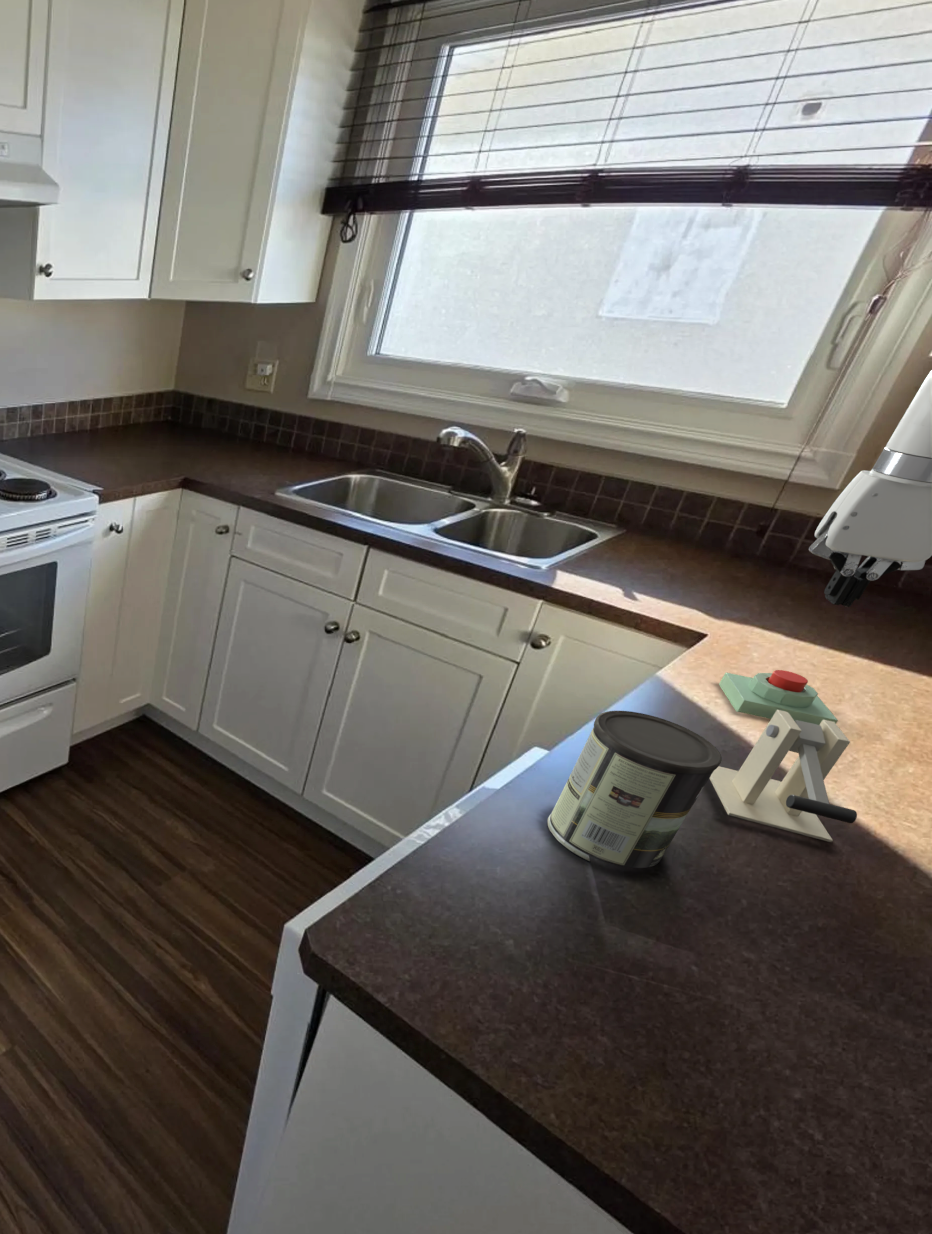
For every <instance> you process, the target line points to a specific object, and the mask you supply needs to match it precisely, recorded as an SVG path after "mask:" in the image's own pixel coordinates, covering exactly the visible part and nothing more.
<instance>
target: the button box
mask: <svg viewBox="0 0 932 1234" xmlns="http://www.w3.org/2000/svg"><path fill="white" fill-rule="evenodd" d="M772 673H773V672H757V673H756V674H755V675H754V676H753V677H750V676H745V675H741V674H736V673H730V672H725V673H724V674H723V676H722V678H721V680H720V681H719V683H718V685H719V687H720V689H721V690H722V692H723V693H724V695H725V696H726V697H727V700H728V702H729V703H730V704H731V706H732V707H733V709H734V710H735V712H736V713H741V714H747V715H750V716H755V717H760V718H764V719H768V720H771V719H772V717H773V715H774V714H775V712H776V711H777V710H781V711H786V712H788V713H789V714H790V716H791V717H792V718H793V720H794V721H795V720H798V721H803V722H807V723H812V724H816V725H820V723H821V722H822V720H827V721H832V722H835V724H836V725H837V723H838V722H839V720H838V718H837V717H836V716H835V714H833V712H832V711H831V710H830V709H829V707H827V705H826V704H825V703H824V702H823V700H822V699H821V698H820V697H819V696H818V695H819V693H818V691H817V690H816V689H815V688H814V687H812V686H811V685H808V683H807V684H806V686H805V687H804V689H803V691H802V692H792V691H787V690H784V689H781V688H778V687H775V686H773V685H772V684H770V683H768V680H769V678H770V677H771V675H772Z"/></svg>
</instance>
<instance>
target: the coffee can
mask: <svg viewBox="0 0 932 1234" xmlns="http://www.w3.org/2000/svg"><path fill="white" fill-rule="evenodd" d="M722 760H723V757H722V754H721V752H720V751H719V749H717V747H716V746H715V745H714V744H712V742H711V741H709V740H707V739H706V738H704V737H703V736H702V735H701V734H698V733H697V732H694V731H693V730H691V729H689V728H687V727H685V726H682V725H680V724H678V723H675V722H672V721H671V720H667V719H666V718H665V719H664V718H661V717H658V716H654V715H651V714H647V713H642V712H637V711H630V710H607V711H603V712H601V713H599V714H598V715H597V716H596V718H595V719H594V721H593V727H592V729H591V732H590V733H589V736H588V738H587V740H586V741H585V744H584V746H583V748H582V750H581V752H580V754H579V756H578V757H577V760H576V761H575V764H574V766H573V768H572V770H571V773H570V774H569V777H568V779H567V780H566V783H565V785H564V787H563V788H562V791H561V793H560V795H559V797H558V799H557V801H556V803H555V805H554V807H553V809H552V810H551V813H550V814H549V816H548V817H547V826H548V830H549V832H551V834H552V836H553V837H554V838H555V839H556V840H557V841H558V842H559V843H560V844H561V845H562V846H563V847H565V848H566V849H567V850H568V851H570V852H572V853H573V854H575V855H576V856H577V857H580V858H582V859H584V860H586V861H588V862H591V858H590V856H591V857H593V858H597V859H599V860H601V861H604V862H606V863H610V864H612V865H615V866H619V867H620V866H621V867H624V868H625V867H627V868H632V869H633V868H634V869H645V868H651V867H654V866H656V865H657V864H658V863H660V862H661V860H662V858H663V857H664V855H665V853H666V852H667V850H668V849H669V846H670V845H671V843H672V841H673V840H674V838H675V836H676V835H677V833H678V831H679V830H680V827H681V826H682V824H683V823H684V821H685V819H686V818H687V816H688V814H689V813H690V811H691V809H692V808H693V806H694V804H695V803H696V801H697V800H698V798H699V796H700V795H701V793H702V791H703V790H704V788H705V786H706V784H707V783H708V781H709V780H710V776H711V775H712V773H713V771H714V770H715V769H717V767H718V766H720V765H721V764H722V762H723V761H722Z"/></svg>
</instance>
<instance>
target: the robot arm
mask: <svg viewBox="0 0 932 1234" xmlns="http://www.w3.org/2000/svg"><path fill="white" fill-rule="evenodd" d="M814 538H816V539H815V541H814V542H812V543H811V545H810V546H809V547H808V551H809V553H811V554H813V555H814V556H817V557H821V558H823V559H826V560H829V562H830V564H831V565H832V566H833V568H834V570H835V572H834V573H833V575H832V576H831V578H830V579H829V582H828V583H827V585H826V587H825V588H824V592H823V593H824V598H825V599H826V600H827V601H829V603H831V604H832V605H835V606H840V605H841V606H843V607H846V608H850V607H851V606H852V605H853V604H854V602H855V601H858V600H860V599H861V597H862V595H863V594H864V593H865V591H866V588H868V586H869V584H870V583H871V581H876V580H878V579H880V578H881V576H884V575H887V574H890V573H892V572H896V571H919V570H923V568H924V567H925V563H926V561H927V560H928V559H930V558H931V557H932V369H931V370H930V371H929V372H928V374H927V375H926V377H925V379H924V380H923V382H922V384H921V385H920V387H919V389H918V391H917V392H916V394H915V396H914V397H913V398H912V401H911V402H910V404H909V405H908V408H907V409H906V410H905V413H904V414H903V416H902V418H901V419H900V421H899V422H898V424H897V426H896V428H895V429H894V432H893V433H892V435H891V436H890V438H889V440H888V442H887V443H886V444H885V447H884V448H883V450H882V451H881V453H880V454H879V456H878V458H877V460H876V461H875V463H874V465H873V467H872V468H871V470H864V469H863V470H860V472H859V473H857V474H856V476H854V477H853V478H852V480H851V481H850V482H849V483H848V484H847V486H845V488H844V489H843V490H842V492H841V493H840V494H839V495H838V496H837V498H836V499H835V501H834V502H833V503H832V505H831V506H830V507H829V509H828V511H827V512H826V513H825V515H824V516H823V518H822V519H821V520H820V522H819V524H818V526H817V527H816V530H815V531H814ZM862 556H865V557H866V558H865V559H864V560H863V562H862V563H861V564H860V561H861V559H862ZM859 564H860V565H859Z"/></svg>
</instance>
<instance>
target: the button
mask: <svg viewBox="0 0 932 1234" xmlns="http://www.w3.org/2000/svg"><path fill="white" fill-rule="evenodd" d="M771 673H772V675H771V677H770V678H769V680H768V683H770V684H772V685H773V686H775V687H778V688H781V689H784V690H787V691H792V692H802V691H803V689H804V687H805V686H806V684H807V685H808V683H809V680H808V679H807V677H805V676H803V675H801V674H798V673H796V672H793V671H789V670H784V669H783V670H782V669H775V670H773V672H771Z"/></svg>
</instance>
